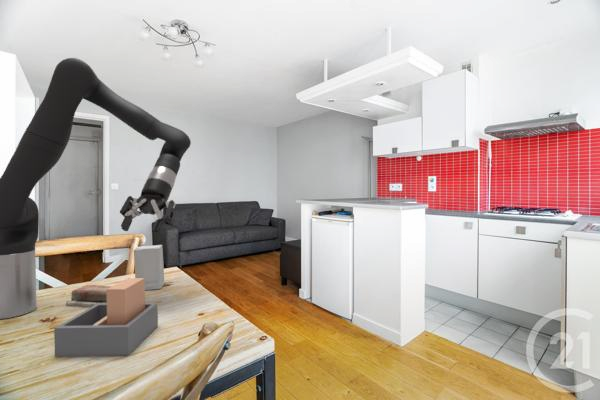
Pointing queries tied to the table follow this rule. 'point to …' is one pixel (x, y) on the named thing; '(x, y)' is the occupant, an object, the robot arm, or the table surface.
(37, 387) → the table surface
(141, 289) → the salmon rectangular block
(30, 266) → the robot arm
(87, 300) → the packaged product
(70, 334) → the grey open tray
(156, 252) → the skincare box
